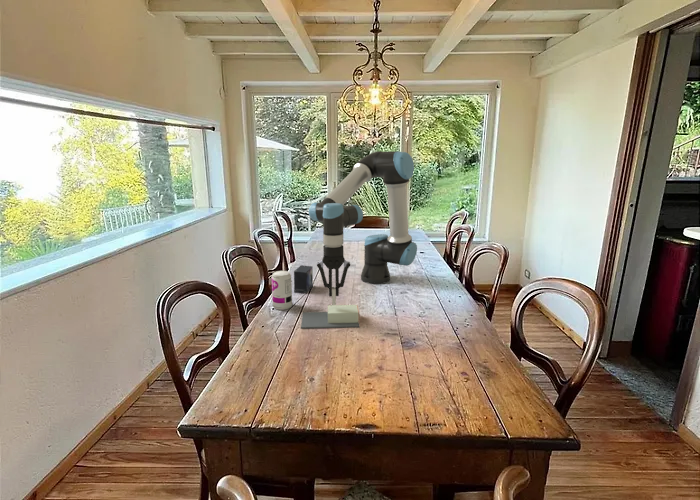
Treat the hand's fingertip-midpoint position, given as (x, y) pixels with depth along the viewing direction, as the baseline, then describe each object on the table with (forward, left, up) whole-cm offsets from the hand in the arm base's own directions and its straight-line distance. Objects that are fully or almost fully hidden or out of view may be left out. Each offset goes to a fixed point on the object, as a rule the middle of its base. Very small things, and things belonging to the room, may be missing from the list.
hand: (333, 303), depth 157 cm
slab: (+2, 0, -4) cm, 5 cm away
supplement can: (+22, -15, -7) cm, 27 cm away
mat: (+2, 0, -7) cm, 7 cm away
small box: (+14, -36, -7) cm, 39 cm away
